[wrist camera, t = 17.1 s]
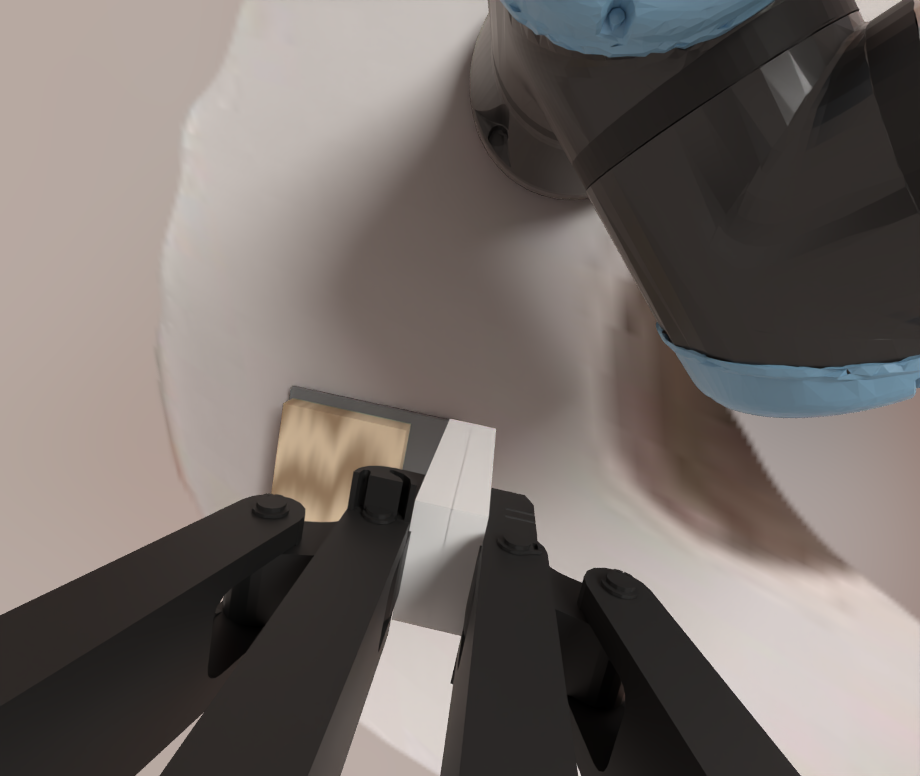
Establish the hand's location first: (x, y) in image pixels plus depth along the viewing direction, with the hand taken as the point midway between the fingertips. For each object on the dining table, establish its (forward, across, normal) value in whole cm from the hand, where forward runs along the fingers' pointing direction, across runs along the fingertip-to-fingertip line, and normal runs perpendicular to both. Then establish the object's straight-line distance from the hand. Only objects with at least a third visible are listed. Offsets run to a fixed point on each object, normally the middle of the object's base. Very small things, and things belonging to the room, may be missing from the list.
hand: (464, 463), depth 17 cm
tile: (+25, -5, -13) cm, 28 cm away
